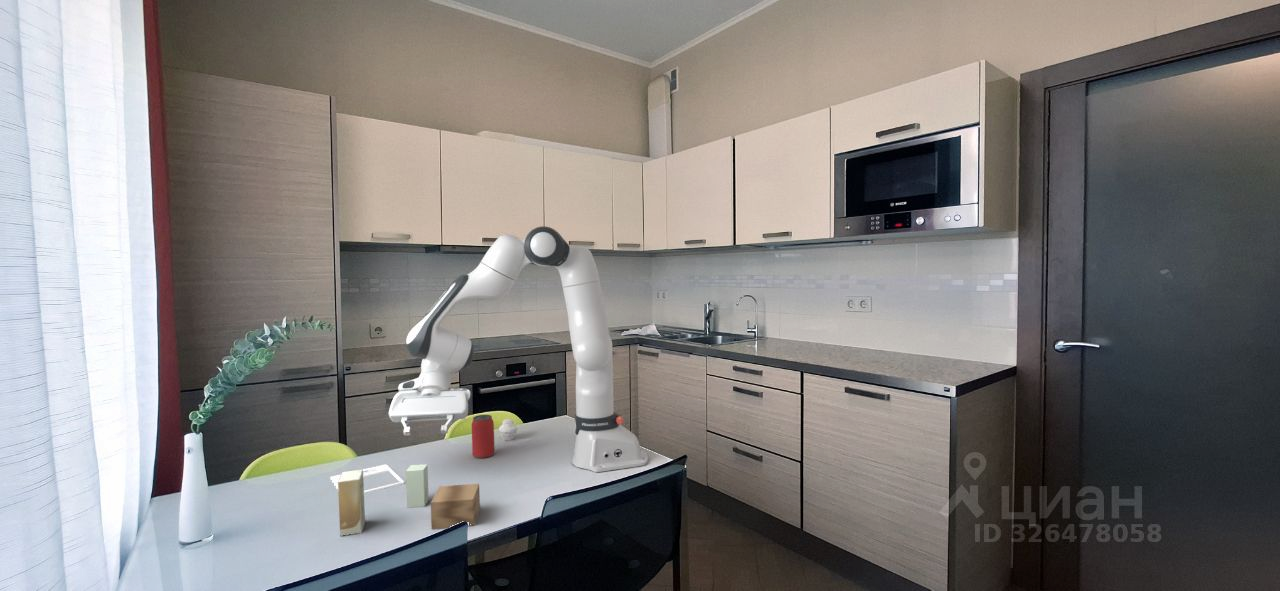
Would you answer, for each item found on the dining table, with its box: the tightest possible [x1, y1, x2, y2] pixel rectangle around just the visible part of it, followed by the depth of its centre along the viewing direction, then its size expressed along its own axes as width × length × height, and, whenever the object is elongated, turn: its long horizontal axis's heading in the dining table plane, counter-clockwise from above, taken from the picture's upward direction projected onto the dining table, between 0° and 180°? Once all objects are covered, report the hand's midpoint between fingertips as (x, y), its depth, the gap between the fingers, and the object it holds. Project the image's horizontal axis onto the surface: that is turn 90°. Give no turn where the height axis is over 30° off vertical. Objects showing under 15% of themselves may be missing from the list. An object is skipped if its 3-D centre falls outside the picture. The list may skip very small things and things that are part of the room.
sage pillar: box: [405, 464, 430, 509], centre depth 130 cm, size 4×4×9 cm
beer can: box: [471, 414, 496, 459], centre depth 165 cm, size 7×7×12 cm
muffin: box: [498, 418, 518, 441], centre depth 180 cm, size 6×6×7 cm
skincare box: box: [337, 469, 366, 537], centre depth 118 cm, size 6×4×12 cm
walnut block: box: [430, 483, 481, 530], centre depth 122 cm, size 9×9×6 cm
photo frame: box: [329, 464, 405, 494], centre depth 146 cm, size 15×1×18 cm
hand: (425, 433), depth 141 cm, fingers open, 8 cm apart
